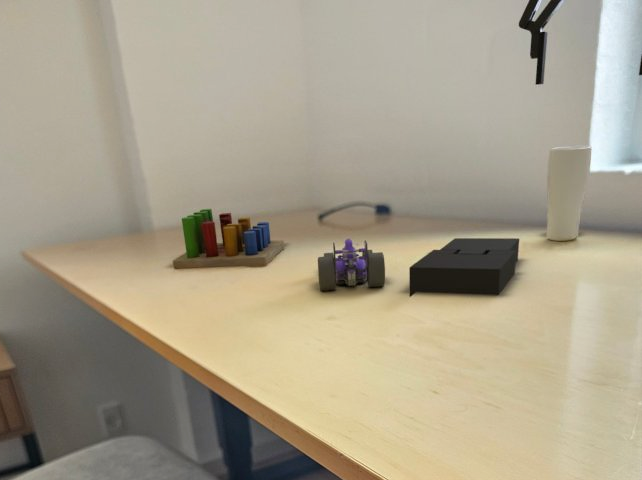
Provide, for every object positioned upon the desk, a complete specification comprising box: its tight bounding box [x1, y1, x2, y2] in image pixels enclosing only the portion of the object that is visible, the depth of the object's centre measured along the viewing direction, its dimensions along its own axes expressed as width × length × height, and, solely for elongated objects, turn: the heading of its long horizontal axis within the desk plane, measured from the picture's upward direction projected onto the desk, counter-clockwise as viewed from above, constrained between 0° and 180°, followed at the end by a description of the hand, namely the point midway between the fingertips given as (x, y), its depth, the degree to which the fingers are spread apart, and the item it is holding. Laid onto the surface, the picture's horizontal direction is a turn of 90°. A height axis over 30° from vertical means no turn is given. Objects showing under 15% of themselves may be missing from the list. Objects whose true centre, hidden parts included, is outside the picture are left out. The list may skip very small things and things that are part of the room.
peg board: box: [172, 208, 285, 270], centre depth 123 cm, size 18×17×9 cm
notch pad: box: [408, 249, 516, 297], centre depth 92 cm, size 12×12×4 cm
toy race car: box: [317, 238, 386, 292], centre depth 100 cm, size 10×15×6 cm, turn 179°
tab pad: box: [439, 237, 520, 264], centre depth 99 cm, size 10×12×4 cm
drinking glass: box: [545, 145, 593, 242], centre depth 115 cm, size 7×7×15 cm
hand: (589, 80), depth 94 cm, fingers open, 13 cm apart
